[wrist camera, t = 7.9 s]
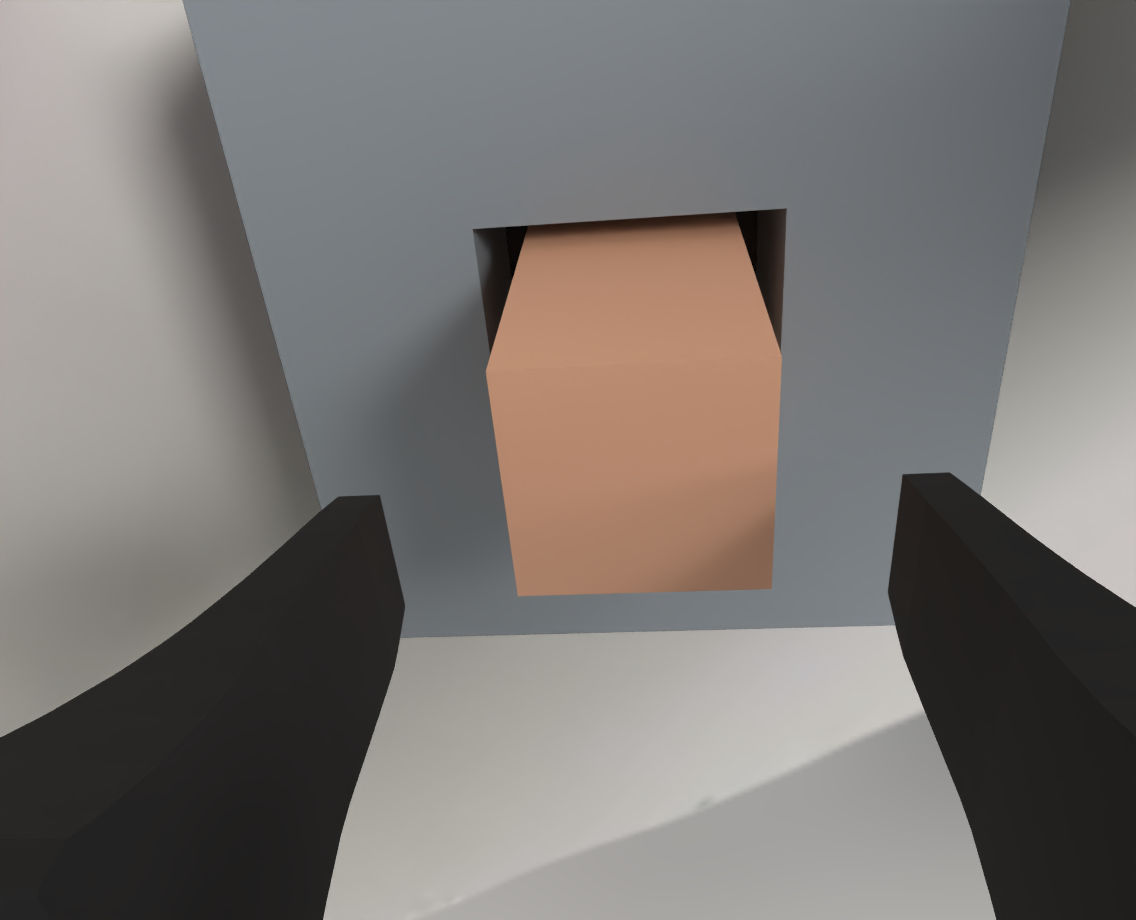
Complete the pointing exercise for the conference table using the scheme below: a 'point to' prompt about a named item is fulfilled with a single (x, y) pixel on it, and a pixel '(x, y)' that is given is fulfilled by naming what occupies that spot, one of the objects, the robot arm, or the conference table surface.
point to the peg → (637, 409)
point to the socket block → (625, 191)
